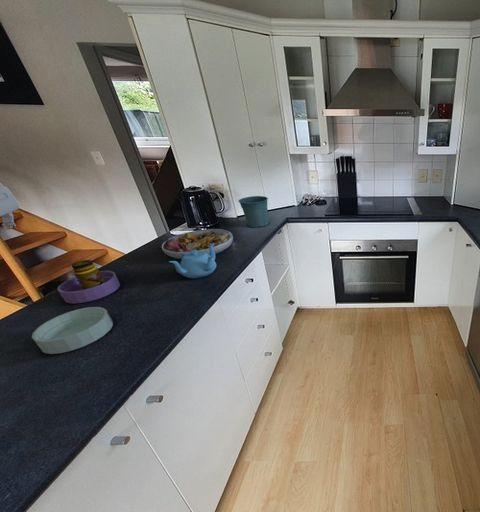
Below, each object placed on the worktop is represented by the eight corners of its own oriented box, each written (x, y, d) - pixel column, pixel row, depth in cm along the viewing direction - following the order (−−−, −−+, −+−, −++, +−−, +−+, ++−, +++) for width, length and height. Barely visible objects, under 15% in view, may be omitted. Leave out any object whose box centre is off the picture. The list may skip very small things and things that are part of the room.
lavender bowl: (55, 308, 93) (47, 296, 91) (76, 286, 106) (70, 275, 103) (112, 298, 99) (106, 286, 97) (126, 278, 112) (121, 267, 109)
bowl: (217, 233, 157) (213, 220, 154) (245, 246, 142) (242, 232, 138) (155, 250, 135) (149, 236, 132) (180, 268, 120) (174, 252, 116)
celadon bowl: (28, 361, 73) (17, 348, 71) (58, 326, 85) (50, 314, 83) (102, 345, 79) (94, 331, 77) (120, 314, 91) (114, 302, 89)
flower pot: (248, 230, 161) (243, 204, 154) (240, 223, 172) (234, 198, 165) (276, 225, 171) (272, 200, 164) (266, 218, 182) (262, 194, 175)
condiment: (109, 291, 103) (94, 263, 97) (77, 300, 97) (60, 271, 92) (108, 283, 107) (94, 256, 102) (77, 291, 102) (61, 263, 97)
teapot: (184, 267, 121) (176, 246, 116) (222, 261, 126) (216, 241, 122) (176, 284, 109) (168, 261, 104) (219, 276, 114) (213, 255, 110)
